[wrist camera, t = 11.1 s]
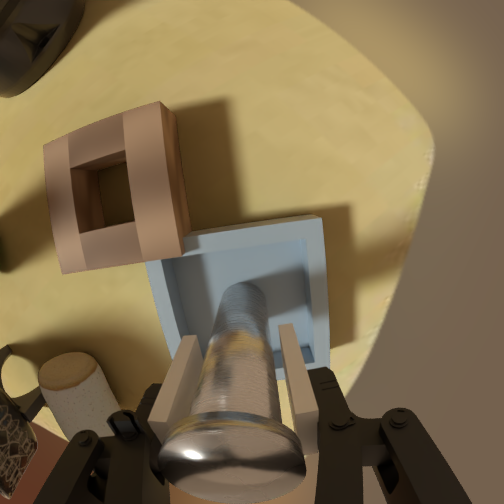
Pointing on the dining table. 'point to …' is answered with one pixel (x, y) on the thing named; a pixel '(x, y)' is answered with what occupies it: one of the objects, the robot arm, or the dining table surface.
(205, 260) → the tray
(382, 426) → the robot arm
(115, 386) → the dining table surface
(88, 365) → the ceramic mug
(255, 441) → the pin
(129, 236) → the block
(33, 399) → the planter
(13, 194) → the dining table surface
